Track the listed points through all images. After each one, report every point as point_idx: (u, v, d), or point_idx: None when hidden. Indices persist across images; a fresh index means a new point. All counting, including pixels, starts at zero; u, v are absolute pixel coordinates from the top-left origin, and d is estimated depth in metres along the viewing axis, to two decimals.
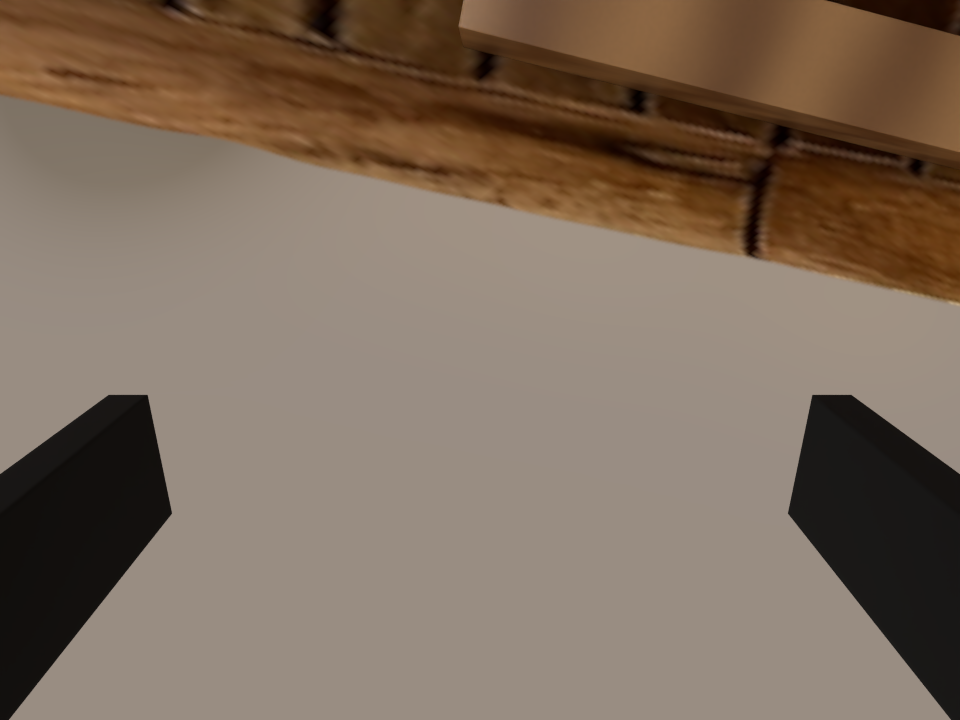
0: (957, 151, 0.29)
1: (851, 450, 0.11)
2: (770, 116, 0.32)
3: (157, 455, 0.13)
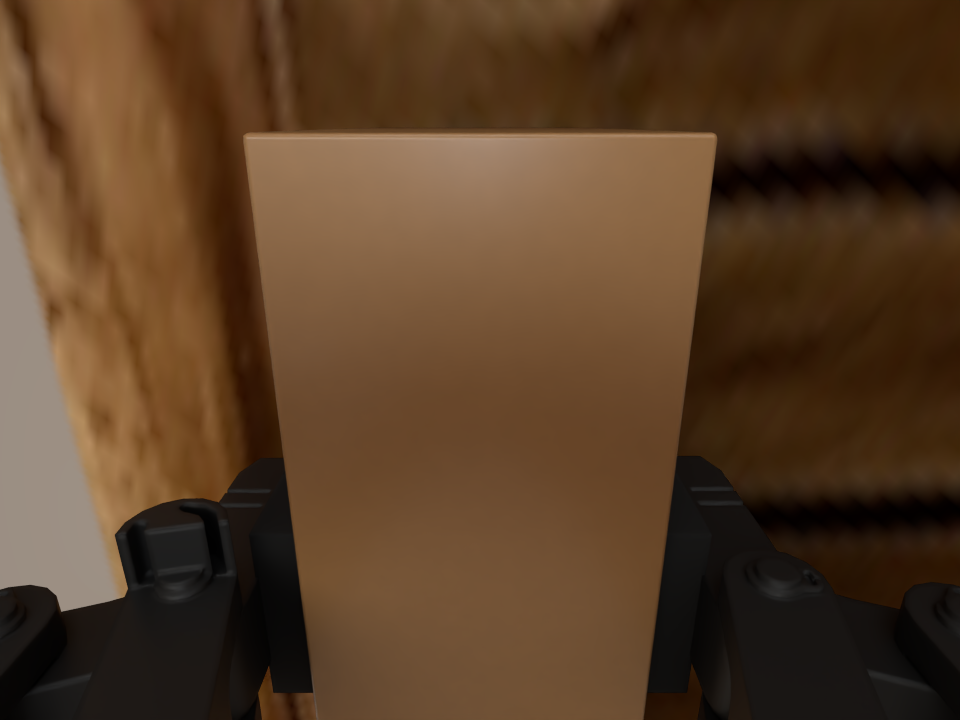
0: None
1: None
2: None
3: None
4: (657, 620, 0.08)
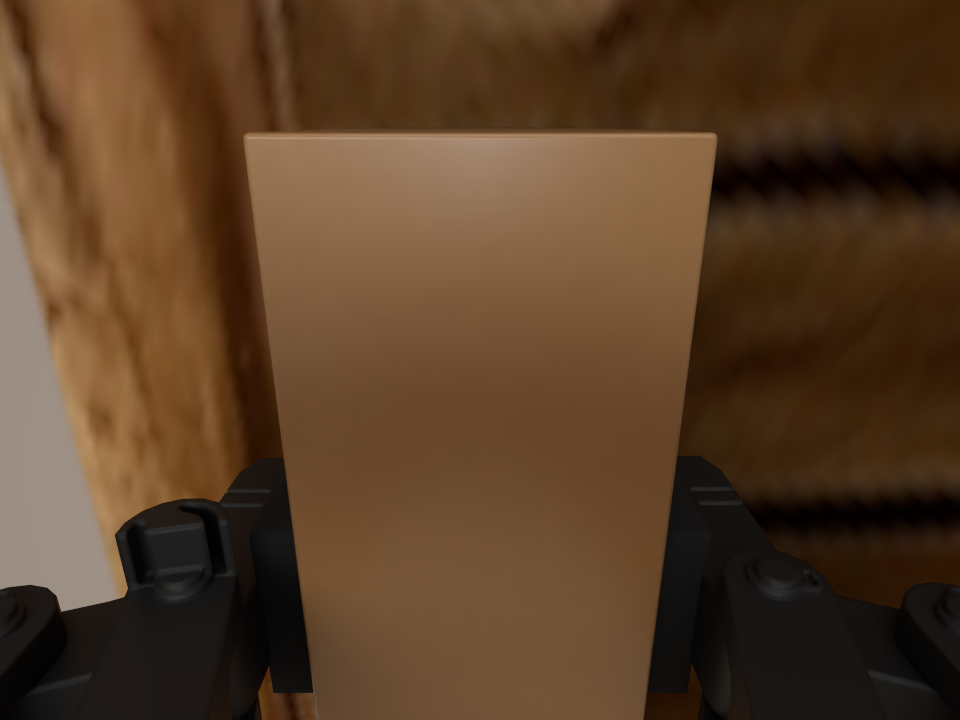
0: None
1: None
2: None
3: None
4: (657, 620, 0.08)
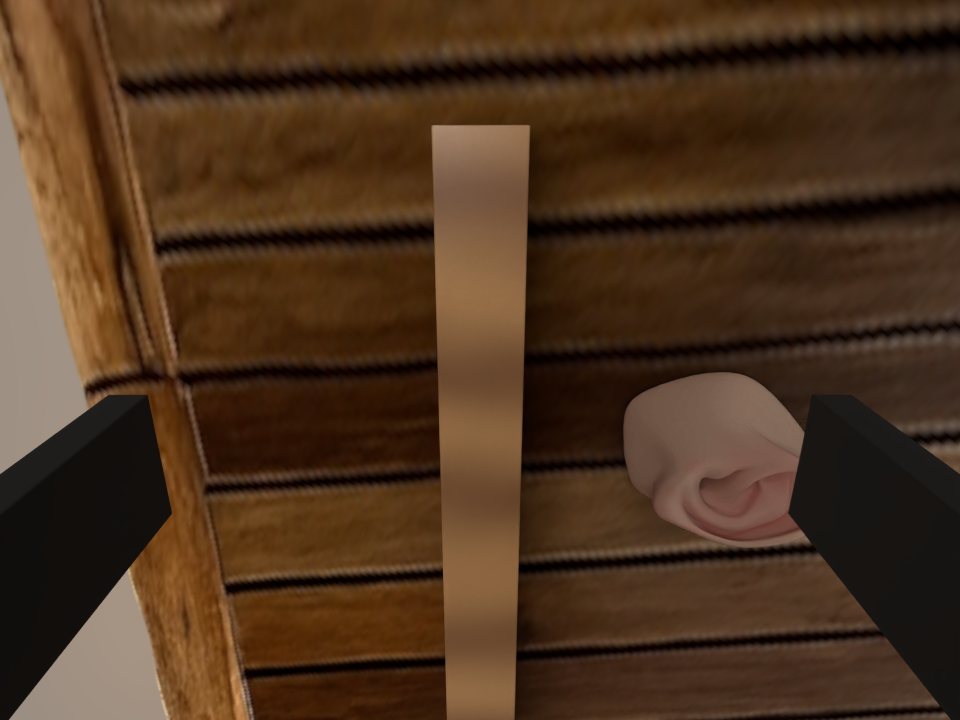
0: (443, 557, 0.36)
1: (851, 450, 0.11)
2: None
3: (157, 455, 0.13)
4: None
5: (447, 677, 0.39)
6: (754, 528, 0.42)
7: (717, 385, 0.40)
